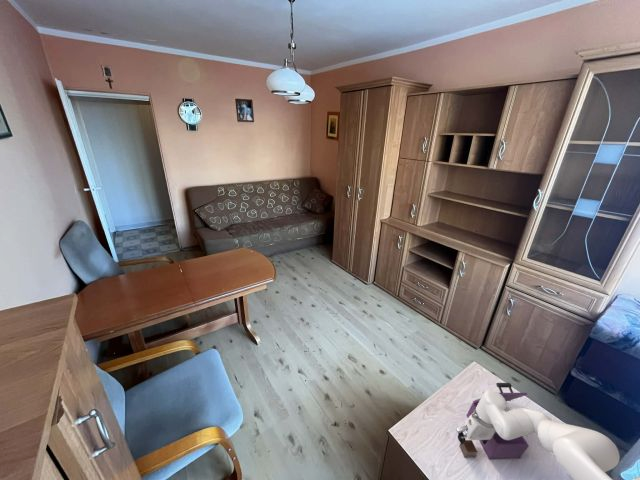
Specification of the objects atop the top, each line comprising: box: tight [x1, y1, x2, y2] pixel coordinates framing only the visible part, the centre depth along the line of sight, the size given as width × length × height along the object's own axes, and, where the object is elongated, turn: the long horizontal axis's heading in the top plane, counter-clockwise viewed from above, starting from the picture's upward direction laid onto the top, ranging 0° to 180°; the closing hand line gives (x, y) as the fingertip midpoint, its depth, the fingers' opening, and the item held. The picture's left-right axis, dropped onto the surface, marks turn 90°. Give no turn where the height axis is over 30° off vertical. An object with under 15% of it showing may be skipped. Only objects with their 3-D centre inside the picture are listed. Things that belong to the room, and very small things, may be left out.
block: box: [458, 439, 478, 458], centre depth 113 cm, size 4×4×4 cm
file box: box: [466, 402, 530, 460], centre depth 118 cm, size 18×14×10 cm
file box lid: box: [472, 382, 528, 403], centre depth 117 cm, size 19×14×5 cm
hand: (471, 440), depth 111 cm, fingers open, 9 cm apart
